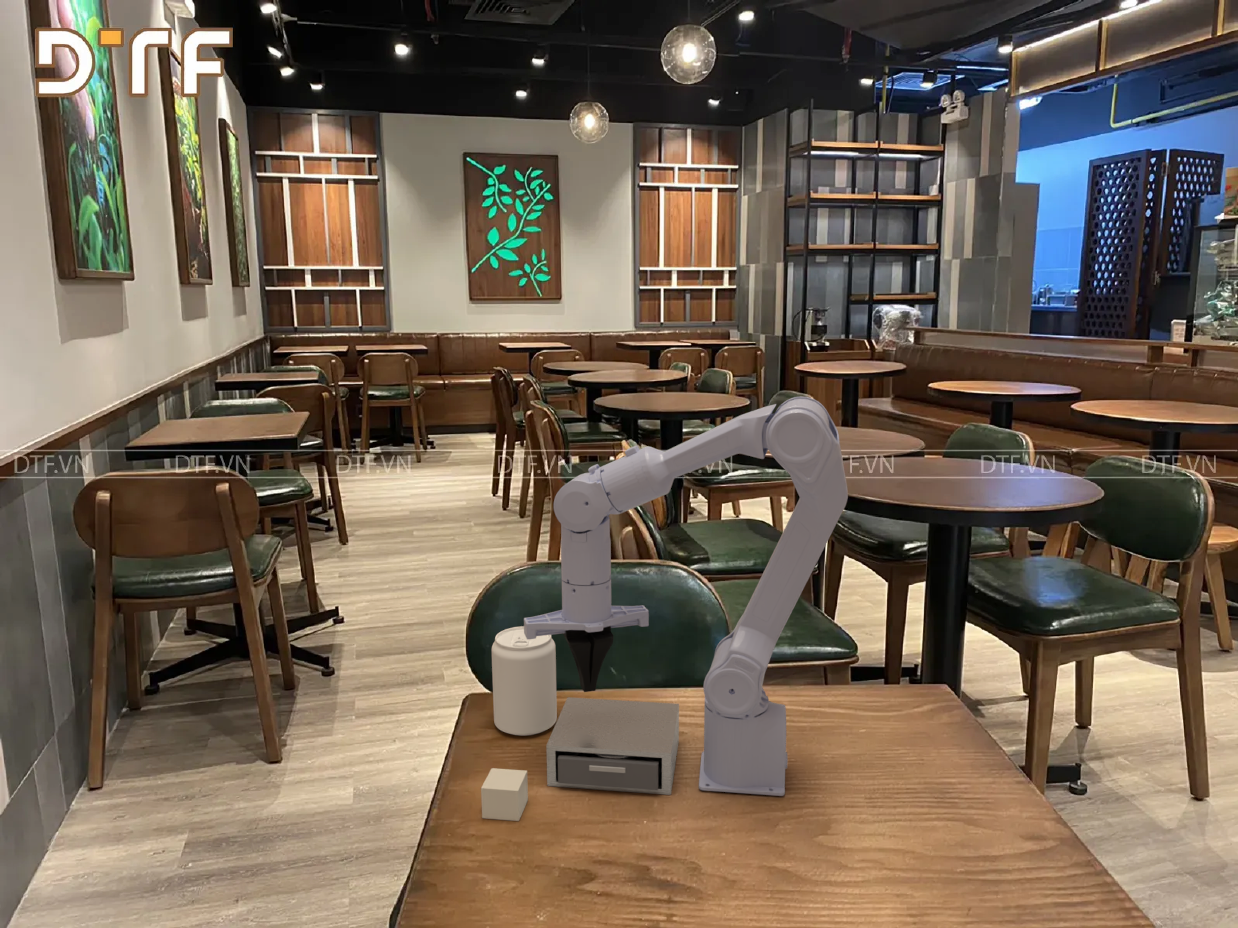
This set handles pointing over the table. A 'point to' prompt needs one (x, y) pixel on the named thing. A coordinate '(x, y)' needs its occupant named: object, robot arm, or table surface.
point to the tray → (609, 771)
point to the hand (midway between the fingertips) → (587, 688)
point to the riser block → (504, 794)
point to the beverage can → (524, 682)
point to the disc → (614, 756)
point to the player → (616, 736)
